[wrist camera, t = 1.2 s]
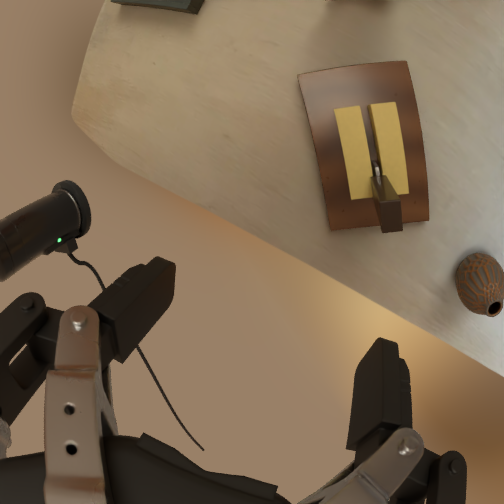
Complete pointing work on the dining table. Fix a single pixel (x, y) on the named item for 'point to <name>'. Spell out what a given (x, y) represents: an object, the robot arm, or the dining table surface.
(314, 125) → the board
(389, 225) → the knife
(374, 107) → the butter
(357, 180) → the butter
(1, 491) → the robot arm
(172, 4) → the tray
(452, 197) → the dining table surface
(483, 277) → the vase
